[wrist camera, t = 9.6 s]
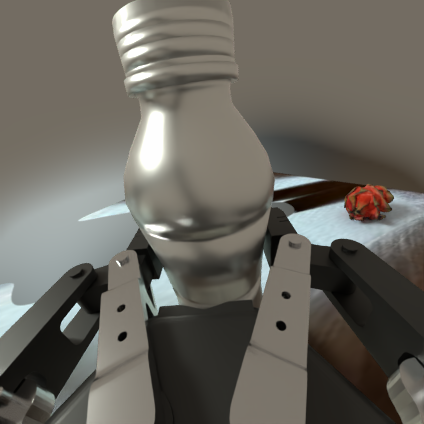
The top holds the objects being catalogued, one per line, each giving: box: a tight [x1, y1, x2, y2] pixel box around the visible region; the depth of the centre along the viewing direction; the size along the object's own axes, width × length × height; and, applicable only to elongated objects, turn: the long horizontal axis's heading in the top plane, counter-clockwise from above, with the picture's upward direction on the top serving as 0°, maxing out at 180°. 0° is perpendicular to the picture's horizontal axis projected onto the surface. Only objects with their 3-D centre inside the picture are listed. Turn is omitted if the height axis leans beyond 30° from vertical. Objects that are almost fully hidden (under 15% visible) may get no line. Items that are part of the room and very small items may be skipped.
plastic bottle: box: [112, 0, 275, 309], centre depth 11 cm, size 6×7×20 cm
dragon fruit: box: [344, 184, 394, 221], centre depth 44 cm, size 8×8×12 cm
